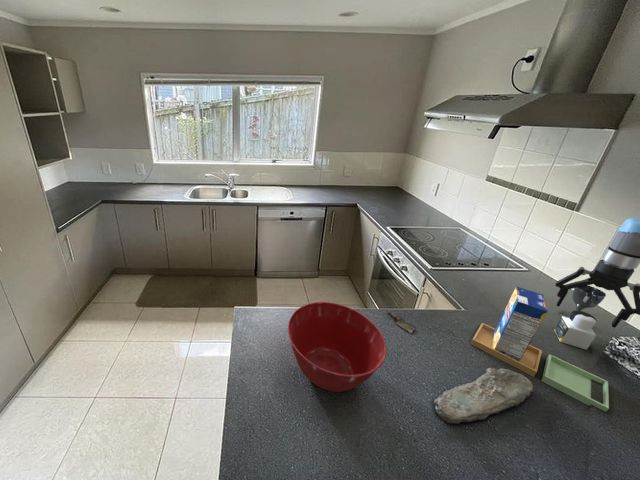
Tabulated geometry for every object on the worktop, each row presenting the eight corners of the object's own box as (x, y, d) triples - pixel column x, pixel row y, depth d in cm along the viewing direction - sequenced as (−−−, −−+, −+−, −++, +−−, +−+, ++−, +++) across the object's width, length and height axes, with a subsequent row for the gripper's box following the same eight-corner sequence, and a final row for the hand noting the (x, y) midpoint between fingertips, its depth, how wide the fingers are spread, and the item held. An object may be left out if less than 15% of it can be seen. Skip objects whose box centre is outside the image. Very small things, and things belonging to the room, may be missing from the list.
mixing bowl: (382, 357, 94) (392, 322, 88) (365, 436, 71) (378, 395, 65) (303, 324, 107) (308, 291, 101) (268, 382, 84) (271, 344, 78)
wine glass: (590, 324, 113) (610, 294, 107) (580, 329, 110) (600, 298, 104) (564, 311, 120) (582, 282, 114) (554, 315, 117) (571, 286, 111)
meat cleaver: (406, 334, 104) (417, 332, 106) (407, 332, 104) (418, 330, 105) (385, 313, 114) (394, 311, 116) (385, 310, 114) (395, 309, 115)
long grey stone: (421, 402, 81) (452, 438, 73) (426, 390, 79) (458, 427, 71) (505, 367, 91) (541, 397, 83) (511, 357, 89) (549, 386, 80)
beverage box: (492, 352, 97) (518, 301, 88) (492, 334, 105) (516, 286, 96) (518, 363, 93) (547, 311, 84) (516, 344, 101) (543, 294, 92)
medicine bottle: (553, 330, 109) (567, 305, 104) (578, 337, 106) (594, 312, 101) (559, 342, 103) (575, 316, 99) (586, 350, 100) (604, 324, 95)
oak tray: (539, 355, 97) (542, 350, 96) (533, 377, 89) (536, 371, 88) (480, 327, 109) (482, 322, 108) (470, 344, 101) (472, 339, 100)
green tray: (604, 386, 87) (608, 381, 86) (604, 414, 79) (609, 408, 78) (546, 359, 96) (549, 354, 95) (541, 381, 88) (544, 375, 87)
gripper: (679, 277, 85) (638, 330, 94) (565, 246, 102) (539, 293, 111) (684, 286, 81) (640, 341, 89) (563, 252, 98) (536, 300, 106)
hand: (584, 314), depth 100 cm, fingers open, 13 cm apart
